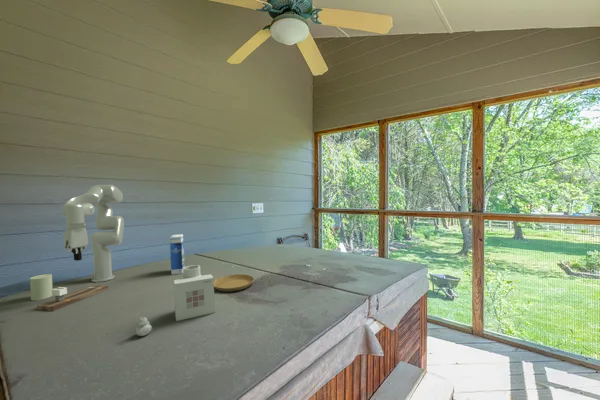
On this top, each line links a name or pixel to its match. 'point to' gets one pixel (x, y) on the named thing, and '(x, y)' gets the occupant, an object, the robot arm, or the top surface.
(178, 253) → the string lights box
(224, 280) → the plant saucer
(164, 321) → the top surface
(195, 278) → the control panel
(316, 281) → the top surface
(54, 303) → the fader console
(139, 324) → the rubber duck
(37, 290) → the can
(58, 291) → the fader knob
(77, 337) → the top surface
